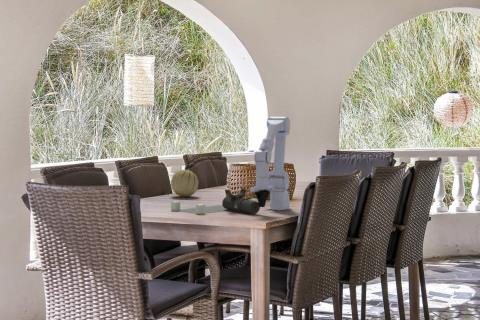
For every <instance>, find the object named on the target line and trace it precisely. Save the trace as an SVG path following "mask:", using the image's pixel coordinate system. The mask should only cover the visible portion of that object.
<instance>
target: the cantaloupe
mask: <svg viewBox="0 0 480 320" xmlns="http://www.w3.org/2000/svg"><path fill="white" fill-rule="evenodd" d="M170 186H171V189H172V192H174V193H175V195H177V196H178V197H182V198H187V197H191V196H193V195H195V193H196V192H197V191H198V188H199V178H198V176H197V174H196V173H194V172H193V171H192V170H190V168H187V169H180V170H178V171H176V172H175V173H174V174H173V175H172V177H171V180H170Z"/></svg>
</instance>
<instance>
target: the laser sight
mask: <svg viewBox="0 0 480 320" xmlns="http://www.w3.org/2000/svg"><path fill="white" fill-rule="evenodd" d="M224 192H225V196H226V197H224V198H222V199H223V200H222V202H221V205H223V207H224V208H225V209H227V210H230V211H232V212H236V213H241V214H244V213H245V214H246V213H249V214H253V215H255V214H257V213H258V212H260V209H261V207H259V203H258V202H256V201H250V199H248V198H245V197H246V193H247V189H246V188H240V192H239V193H237V194H232V192H231V189H224Z"/></svg>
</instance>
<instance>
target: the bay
mask: <svg viewBox="0 0 480 320" xmlns="http://www.w3.org/2000/svg"><path fill="white" fill-rule="evenodd" d="M225 197H226V195H225ZM225 197H224V198H225ZM249 201H256V202H258V199H257V198H250V199H249ZM170 210H171V211H173V212H179V213H187V214H194V215H205V214H211V213H213V214H214V213H222V212H229V211H230V210H227V209H225V208H224V207H223V205H222V204H217V205H210V206H209V205H207V206H206V204H202V203H199V204H195V207H191V208H190V207H189V208H182V209H181V201H171V202H170Z"/></svg>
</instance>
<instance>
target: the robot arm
mask: <svg viewBox="0 0 480 320" xmlns="http://www.w3.org/2000/svg"><path fill="white" fill-rule="evenodd" d="M266 127H267V132H266V137H265V138H263V139H262V140H261V143H260V146H259V148H258V149H257V150H256V151H255V152H254V157H253V158H254V165H255V168H256V169H255V185H254V186H251V187H250V189H249V192H250V193H254V195H255V196H256V199H258V203H259V207H260V208H265V207H266V203H267V199H268V197H269V207H266V208H265V210H270V211H285V210H291V209H292V207H290V203H291V202H290V199H291V198H290V194H289V193H290V192H288V189H290V188H289V187H290V175H289V174H288V172H286V171H285V170H284V167H285V154H286V153H285V152H286V139H287V136H288V135H289V134H290V129H291V120H290V118H289V116H268V117H267V119H266ZM274 140H275V141H274ZM273 148H274V153H272V151H273ZM273 154H274V155H273ZM272 155H273V169H272V170H271V171H270V164H271V160H272Z"/></svg>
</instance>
